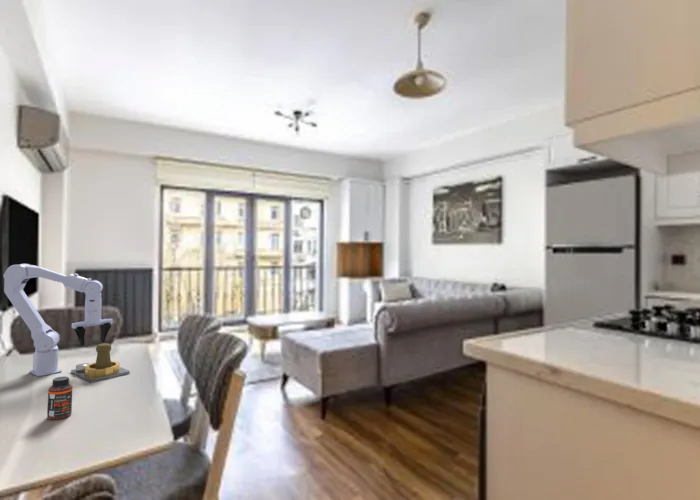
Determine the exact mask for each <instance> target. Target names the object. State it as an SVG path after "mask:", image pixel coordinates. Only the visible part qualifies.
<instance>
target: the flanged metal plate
mask: <svg viewBox="0 0 700 500" xmlns="http://www.w3.org/2000/svg"><path fill="white" fill-rule="evenodd" d="M95 365H96V362H92V363H89V362H88V363H87V362H86V363H85V362H84V363H79V364H76V365H75V368H74V369H71V370H70V373H71V374H73V375H75V376H77V377H79V378H81V379H82V380H85V381H87V382H89V383H93V382H98V381H103V380H107V379H111V378H116V377H120V376H125V375H129V374H131V373H130V370H129V369H126V368H124V367H121V364H120V362H119V361H116V360H115V361H114V360H111V366H112V367H108V368H101V369H95Z"/></svg>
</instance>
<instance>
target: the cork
mask: <svg viewBox="0 0 700 500" xmlns="http://www.w3.org/2000/svg"><path fill="white" fill-rule="evenodd" d="M111 350H112V345H111V343H108V342H107V343H106V342H101V343H98V344H97V345H96V347H95V352H97V356H96V360H95V363H96V365H95V369H101V368H108V367H112V366H111V361H112V360H111Z"/></svg>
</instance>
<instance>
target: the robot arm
mask: <svg viewBox="0 0 700 500" xmlns="http://www.w3.org/2000/svg"><path fill="white" fill-rule="evenodd" d="M3 278H4V280H3V281H4V284H3V285H4V286H3V287H4V288H3V292H4V294H5V296H6V297H7V298H8V300H9V301H10V303H11V305H13V308H14V309H15V310H16V312H17V313H18V314H19V316H20V317H21V319H22V320H23V322H24V323H25V325H26V326H27V327H28V329H29V330H30V333H31V334H30V337H31V339H32V341H33V348H35V352H33V355H32V369H30V370H29V373H31V374H33V375H34V376H36V377H42V376H47V375H52V374H57V373H62V372H63V370H61V369H59V347H58V345H57V344H58V343H59V342H60V340H61V337H60V336H61V335H60V334H59V332H57V331H55V330H53V329H52V327H51V326H50V325H49V324H47V323H46V322H45V321H44V319H43V317H42V316H41V314H40V313H39V312H38V310H37V308H36V307H35V306H34V304H33V302H32V301H31V300H30V299H29V297H28V295H27V294H26V292H25V290H24V289H25V287H26V285H27V282H28V281H29V280H30V279H33V278H41V279H46V280H50V281H53V282H57V283H61V284H62V285H63V287H64V288H66V289H69V290H74V291H77V292H80V293H84V295H85V300H84V320H83V321H79V322H78V321H77V322H72V323H71V329H73V330H74V332H75V333H76V336H77V338H78V341H79V345H80V346H82V347H84V346H85V336H86V335H85V334H86V328H88V327H94V326H99V328H100V329H99V330H100V343H106V338H107V335H108V333H109V331H110V330H111V328H112V324H114V319H113V318H103V319H102V302H103V301H102V291H103V289H104V285H103V283H102V282H100V281H99V280H97V279H92V278H91V277H88V278H86V277H84V276H81V275H79V274H78V273H70V274H68V275H66V274H63V273H60V272H57V271H54V270H51V269H47V268H45V267H42V266H38V265H34V264H30V263H20V264H12V265H10V266H9V267H7V268H6V270H5V272H4V273H3Z"/></svg>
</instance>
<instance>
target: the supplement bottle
mask: <svg viewBox="0 0 700 500" xmlns="http://www.w3.org/2000/svg"><path fill="white" fill-rule="evenodd" d="M51 383H52V385H50V387H48V391H47V410H46V411H47V413H46V414H47V419H49V420H61V419H64V418H67V417H69V416H71V414H72V413H73V412H72V411H73V385H72V383H70V377H69V376H66V375H65V376H57V377H54V378H53V379H52V382H51Z"/></svg>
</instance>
